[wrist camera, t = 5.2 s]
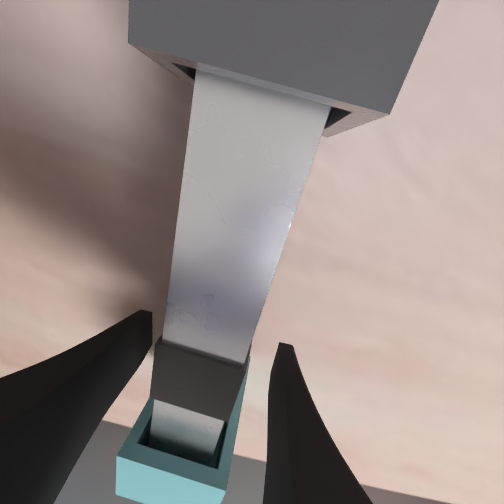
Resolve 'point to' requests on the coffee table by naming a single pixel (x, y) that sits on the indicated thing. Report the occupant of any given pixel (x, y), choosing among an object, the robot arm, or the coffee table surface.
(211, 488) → the teal socket
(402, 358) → the coffee table surface
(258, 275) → the metal square rod
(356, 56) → the graphite sleeve
